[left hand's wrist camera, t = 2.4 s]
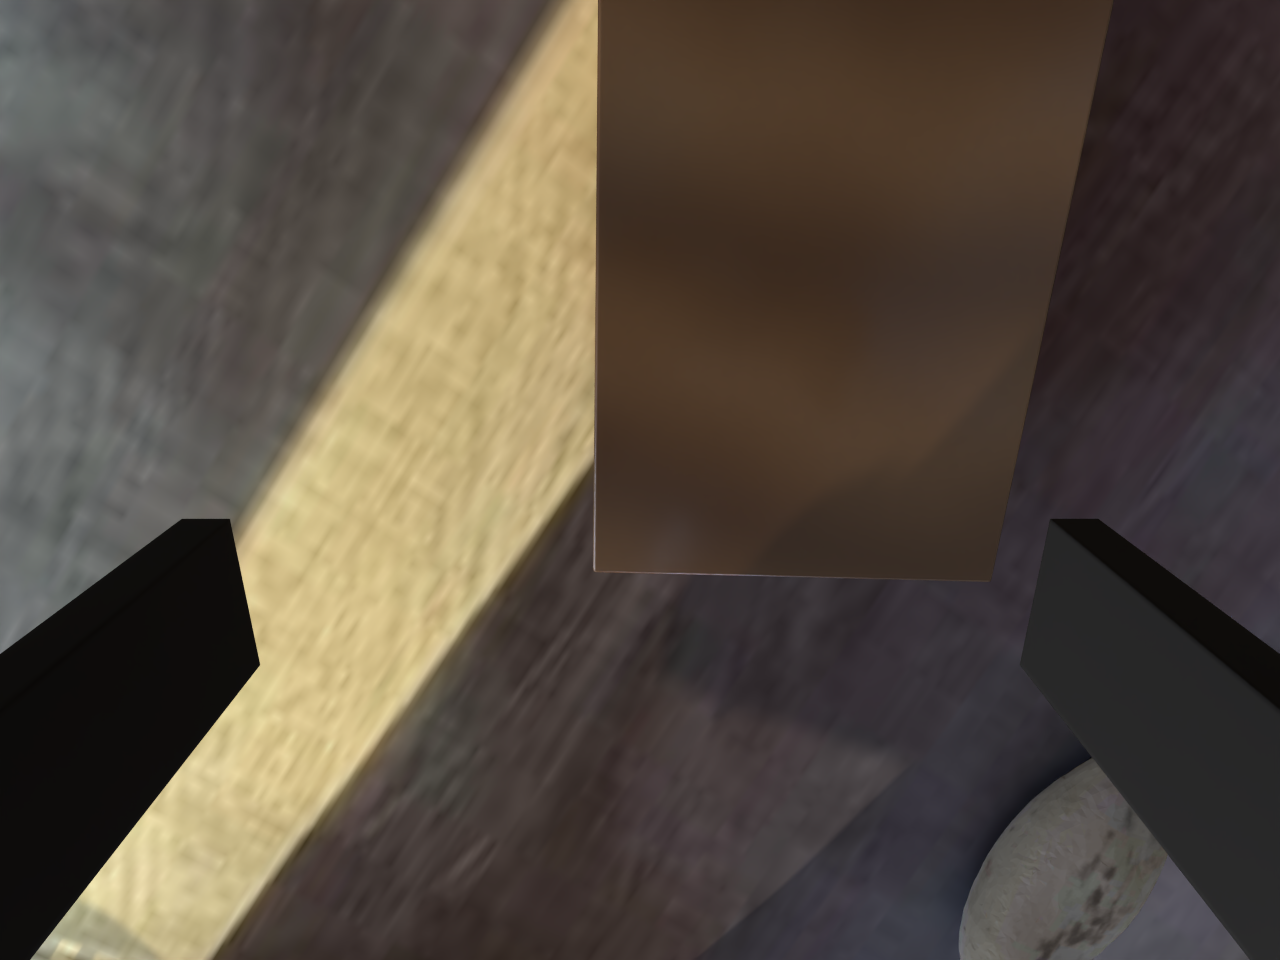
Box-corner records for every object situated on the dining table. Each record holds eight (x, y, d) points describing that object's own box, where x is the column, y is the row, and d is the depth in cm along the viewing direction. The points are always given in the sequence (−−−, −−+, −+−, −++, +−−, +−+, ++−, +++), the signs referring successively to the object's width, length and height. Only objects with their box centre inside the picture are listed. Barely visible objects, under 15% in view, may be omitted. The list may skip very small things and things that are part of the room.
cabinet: (612, -96, 23) (600, -242, 15) (984, -83, 23) (1162, -220, 15) (605, 469, 29) (592, 573, 21) (897, 476, 29) (991, 583, 21)
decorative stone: (1209, 727, 33) (1270, 786, 30) (1024, 974, 38) (1060, 1046, 35) (1082, 686, 32) (1131, 741, 29) (911, 943, 37) (937, 1014, 34)
